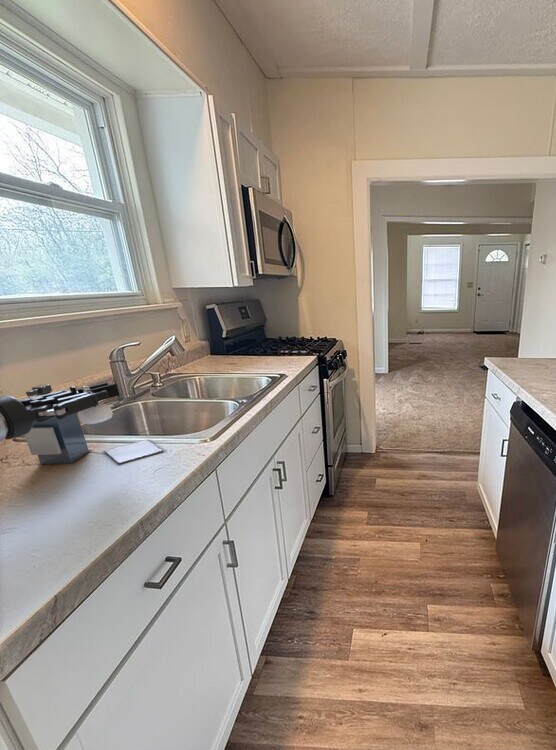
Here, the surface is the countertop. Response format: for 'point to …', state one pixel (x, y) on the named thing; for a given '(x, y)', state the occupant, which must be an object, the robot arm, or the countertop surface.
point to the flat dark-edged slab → (133, 451)
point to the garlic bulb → (95, 412)
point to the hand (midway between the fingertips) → (112, 388)
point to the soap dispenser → (62, 433)
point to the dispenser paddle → (42, 441)
